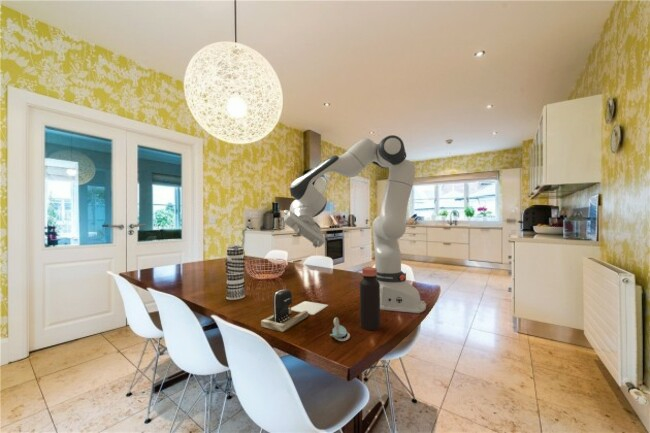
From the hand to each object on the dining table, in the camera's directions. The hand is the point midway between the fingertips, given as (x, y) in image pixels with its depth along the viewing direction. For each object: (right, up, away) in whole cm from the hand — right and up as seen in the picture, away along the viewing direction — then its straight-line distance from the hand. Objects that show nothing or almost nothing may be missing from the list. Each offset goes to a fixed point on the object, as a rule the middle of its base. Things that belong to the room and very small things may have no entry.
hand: (307, 239), depth 100 cm
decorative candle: (-36, -30, +25) cm, 54 cm away
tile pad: (0, -29, +9) cm, 31 cm away
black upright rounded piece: (-8, -30, -6) cm, 31 cm away
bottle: (+22, -29, -11) cm, 38 cm away
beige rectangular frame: (-7, -29, -4) cm, 31 cm away
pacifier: (+12, -29, -18) cm, 37 cm away
